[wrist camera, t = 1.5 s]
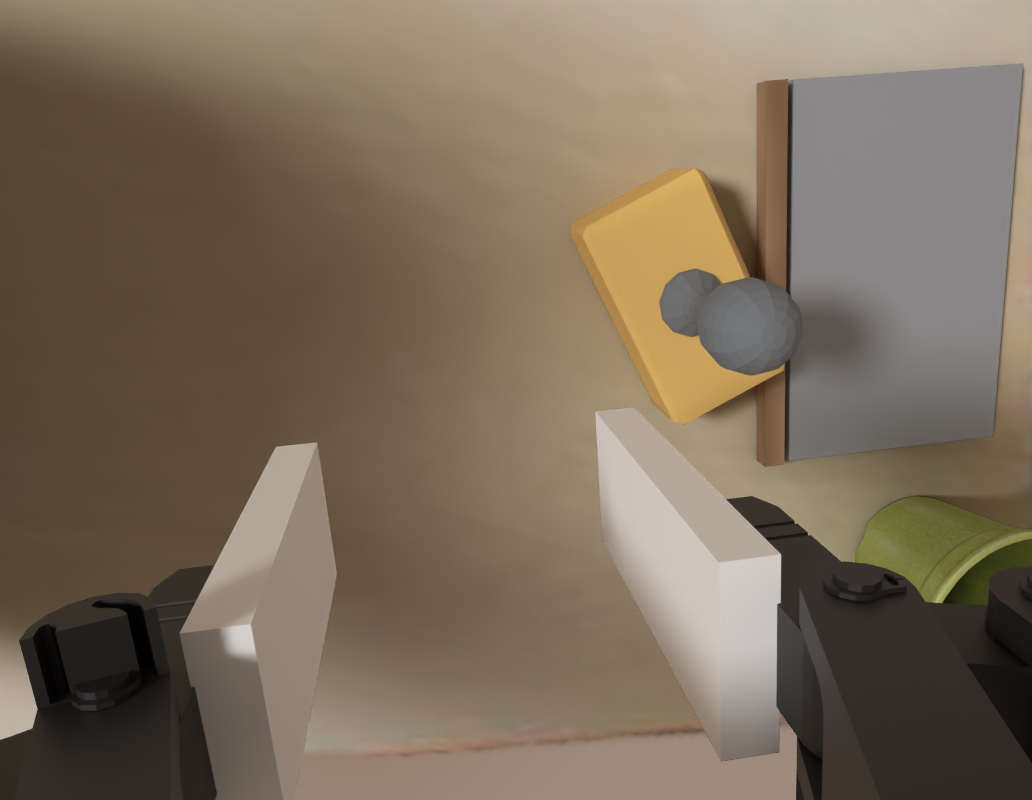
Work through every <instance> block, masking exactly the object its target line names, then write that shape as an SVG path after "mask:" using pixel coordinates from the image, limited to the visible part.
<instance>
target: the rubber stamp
mask: <svg viewBox="0 0 1032 800" xmlns="http://www.w3.org/2000/svg"><path fill="white" fill-rule="evenodd" d="M570 236H571V238H572V240H573V242H574V244H575V246H576V248H577V250H578V252H579V254H580V256H581V258H582V260H583V262H584V264H585V266H586V268H587V270H588V272H589V274H590V276H591V278H592V280H593V282H594V284H595V286H596V288H597V290H598V293H599V295H600V297H601V299H602V301H603V303H604V305H605V307H606V309H607V311H608V313H609V315H610V317H611V319H612V321H613V323H614V325H615V327H616V329H617V331H618V333H619V335H620V337H621V339H622V341H623V343H624V345H625V347H626V349H627V351H628V353H629V355H630V357H631V359H632V361H633V363H634V365H635V367H636V369H637V371H638V373H639V375H640V377H641V380H642V382H643V384H644V386H645V388H646V390H647V392H648V394H649V396H650V398H651V400H652V402H653V404H654V405H655V406H656V407H657V408H658V409H659V410H661V411H662V412H663V413H664V414H665V415H666V416H667V417H668V418H670V419H671V420H672V421H674V422H677V423H680V424H683V425H684V424H686V423H688V422H690V421H691V420H693V419H695V418H697V417H699V416H701V415H703V414H704V413H706V412H708V411H710V410H712V409H714V408H715V407H717V406H719V405H721V404H723V403H725V402H726V401H728V400H730V399H732V398H734V397H736V396H737V395H739V394H741V393H743V392H745V391H747V390H749V389H750V388H752V387H754V386H756V385H758V384H760V383H761V382H763V381H765V380H767V379H769V378H771V377H772V376H774V375H776V374H778V373H780V372H782V371H783V370H784V366H785V362H786V361H788V360H789V359H790V358H791V357H792V356H793V355H794V354H795V353H796V350H797V348H798V345H799V343H800V340H801V337H802V335H803V326H802V318H801V311H800V308H799V307H798V305H797V304H796V303H795V302H794V300H793V299H792V298H791V297H790V295H789V294H788V293H787V292H786V290H785V289H784V288H782V287H781V286H779V285H776V284H773V283H769V282H766V281H763V280H760V279H757V278H753V277H750V275H749V273H748V271H747V268H746V266H745V264H744V262H743V259H742V257H741V255H740V252H739V250H738V248H737V245H736V243H735V241H734V238H733V236H732V234H731V231H730V229H729V227H728V225H727V222H726V220H725V218H724V215H723V213H722V211H721V208H720V206H719V204H718V201H717V199H716V197H715V194H714V192H713V190H712V188H711V185H710V183H709V181H708V178H707V176H706V174H705V173H704V172H703V171H701V170H698V169H696V168H687V169H672V170H669V171H667V172H665V173H663V174H661V175H659V176H658V177H656V178H654V179H652V180H650V181H648V182H647V183H645V184H643V185H641V186H639V187H638V188H636V189H634V190H632V191H630V192H628V193H627V194H625V195H623V196H621V197H619V198H617V199H616V200H614V201H612V202H610V203H608V204H606V205H605V206H603V207H601V208H599V209H597V210H596V211H594V212H592V213H590V214H588V215H586V216H585V217H583V218H581V219H579V220H577V221H575V222H574V223H572V224H571V228H570Z"/></svg>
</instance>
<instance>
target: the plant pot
mask: <svg viewBox="0 0 1032 800" xmlns="http://www.w3.org/2000/svg"><path fill="white" fill-rule="evenodd" d="M856 563H866V564H871V565H875V566H879V567H883V568H887V569H889V570H891V571H893V572H895V573H898V574H900V575H902V576H904V577H905V578H906V579H908V580H909V581H910V582H911V583H912V584H913V585H914V586H915V587H916V588H917V590H918V591H919V593H920V594H921V596H922V597H923V599H924V600H925V602H933V603H951V604H976V605H987V593H988V581H989V578H990V577H991V576H992V575H994V574H995V573H996V572H997V571H1000V570H1004V569H1008V568H1012V567H1026V566H1032V529H1024V528H1013V527H1011V526H1008V525H1005V524H1002V523H999V522H997V521H994V520H991V519H988V518H985V517H983V516H980V515H977V514H974V513H971V512H969V511H966V510H963V509H961V508H958V507H956V506H953V505H950V504H948V503H945V502H943V501H940V500H937V499H932V498H927V497H920V496H915V497H907V498H903V499H900V500H898V501H895V502H893V503H891V504H889V505H888V506H886V507H885V508H883V509H882V510H880V511H879V512H878V513H877V514H876V515H875V516H874V517H873V518H872V519H871V520H870V521H869V523H868V524H867V527H866V531H865V534H864V536H863V539H862V541H861V543H860V545H859V546H858V548H857V549H856Z"/></svg>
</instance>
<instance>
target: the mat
mask: <svg viewBox="0 0 1032 800" xmlns="http://www.w3.org/2000/svg"><path fill="white" fill-rule="evenodd" d="M1022 71H1023V64H1010V65H996V66H982V67H968V68H953V69H939V70H925V71H911V72H897V73H883V74H869V75H855V76H840V77H826V78H812V79H798V80H791V81H788V145H787V244H786V292H787V293H788V294H789V295H790V297H791V298H792V299H793V300H794V302H795V303H796V304H797V305H798V307H799V308H800V311H801V318H802V326H803V335H802V337H801V340H800V343H799V345H798V348H797V350H796V353H795V354H794V355H793V356H792V357H791V358H790V359H789V360H788V361H786V362H785V441H784V457H785V458H786V459H788V460H789V461H792V460H800V459H808V458H817V457H825V456H833V455H842V454H850V453H859V452H867V451H875V450H884V449H892V448H900V447H909V446H917V445H926V444H934V443H942V442H951V441H959V440H968V439H976V438H984V437H993V428H994V416H995V404H996V391H997V379H998V367H999V354H1000V342H1001V330H1002V317H1003V305H1004V293H1005V280H1006V268H1007V256H1008V243H1009V231H1010V219H1011V206H1012V194H1013V182H1014V169H1015V157H1016V145H1017V132H1018V120H1019V108H1020V95H1021V83H1022Z"/></svg>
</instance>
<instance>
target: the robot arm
mask: <svg viewBox="0 0 1032 800" xmlns="http://www.w3.org/2000/svg"><path fill="white" fill-rule="evenodd" d="M595 414H596V433H597V451H598V469H599V488H600V506H601V525H602V541H603V543H604V545H605V547H606V549H607V550H608V552H609V554H610V556H611V558H612V560H613V562H614V563H615V565H616V567H617V569H618V571H619V573H620V575H621V576H622V578H623V580H624V582H625V584H626V586H627V588H628V589H629V591H630V593H631V595H632V597H633V599H634V601H635V602H636V604H637V606H638V608H639V610H640V612H641V614H642V615H643V617H644V619H645V621H646V623H647V625H648V627H649V628H650V630H651V632H652V634H653V636H654V638H655V640H656V641H657V643H658V645H659V647H660V649H661V651H662V653H663V654H664V656H665V658H666V660H667V662H668V664H669V666H670V667H671V669H672V671H673V673H674V675H675V677H676V679H677V680H678V682H679V684H680V686H681V688H682V690H683V692H684V693H685V695H686V697H687V699H688V701H689V703H690V705H691V706H692V708H693V710H694V712H695V714H696V716H697V718H698V719H699V721H700V723H701V725H702V727H703V729H704V731H705V732H706V734H707V736H708V738H709V740H710V742H711V744H712V745H713V747H714V749H715V751H716V753H717V754H718V757H719V758H720V760H721V761H728V760H734V759H740V758H747V757H753V756H759V755H765V754H772V753H779V733H780V732H779V731H780V712H781V714H782V715H783V717H784V718H785V719H786V721H787V722H788V724H789V725H790V727H791V728H792V729H793V731H794V732H795V734H796V735H797V784H796V785H797V786H796V800H1032V566H1026V567H1012V568H1008V569H1004V570H1000V571H997V572H996V573H995V574H994V575H992V576H991V577H990V578H989V581H988V593H987V605H976V604H951V603H933V602H925V600H924V599H923V597H922V596H921V594H920V593H919V591H918V590H917V588H916V587H915V586H914V585H913V584H912V583H911V582H910V581H909V580H908V579H906V578H905V577H904V576H902V575H900V574H898V573H895V572H893V571H891V570H889V569H887V568H883V567H879V566H875V565H871V564H866V563H855V562H841V561H840V560H838V559H837V558H836V557H835V556H834V555H833V554H832V553H830V552H829V551H828V550H827V549H826V548H825V547H824V546H822V545H821V544H820V543H819V542H818V541H817V540H816V539H814V538H813V537H812V536H811V535H810V536H808V533H807V532H806V531H805V530H804V529H803V528H802V527H801V526H800V525H798V524H795V523H794V520H793V519H792V518H790V517H789V516H788V515H787V514H786V513H785V512H784V511H782V510H781V509H780V508H779V507H777V506H775V505H773V504H770V503H768V502H765V501H763V500H760V499H758V498H755V497H753V496H749V497H741V498H733V499H725V498H724V497H723V496H722V495H721V494H720V493H719V492H718V491H717V490H716V489H715V488H714V487H713V486H712V485H711V484H710V483H709V482H708V481H707V480H706V479H705V478H704V477H703V476H702V475H701V474H700V473H699V472H698V471H697V470H696V469H695V468H694V467H693V466H692V465H691V464H690V463H689V462H688V461H687V460H686V459H685V458H684V457H683V456H682V455H681V454H680V453H679V452H678V451H677V450H676V449H675V448H674V447H673V446H672V445H671V444H670V443H669V442H668V441H667V440H666V439H665V438H664V437H663V436H662V435H661V434H660V433H659V432H658V431H657V430H656V429H655V428H654V427H653V426H652V425H651V424H650V423H649V422H648V421H647V420H646V419H645V418H644V417H643V416H642V415H641V414H640V413H639V412H638V411H637V410H636V409H635V408H634V407H632V408H623V409H614V410H605V411H596V412H595ZM336 577H337V571H336V564H335V558H334V551H333V544H332V538H331V531H330V524H329V518H328V511H327V504H326V498H325V491H324V484H323V477H322V471H321V464H320V457H319V451H318V444H317V442H316V443H307V444H297V445H288V446H279V447H276V448H275V450H274V452H273V453H272V455H271V457H270V459H269V461H268V463H267V465H266V467H265V469H264V471H263V473H262V475H261V477H260V479H259V481H258V482H257V484H256V486H255V488H254V490H253V492H252V494H251V496H250V498H249V500H248V502H247V504H246V506H245V508H244V510H243V511H242V513H241V515H240V517H239V519H238V521H237V523H236V525H235V527H234V529H233V531H232V533H231V535H230V537H229V539H228V540H227V542H226V544H225V546H224V548H223V550H222V552H221V554H220V556H219V558H218V560H217V562H216V564H215V565H212V566H204V567H196V568H188V569H180V570H178V571H176V572H175V573H174V574H172V575H171V576H169V577H168V578H167V579H165V580H164V581H163V582H161V583H160V584H159V585H157V586H156V587H155V588H154V589H153V590H152V592H151V594H150V595H149V597H146V596H144V595H141V594H134V593H116V594H109V595H103V596H96V597H92V598H89V599H86V600H82V601H79V602H76V603H73V604H69V605H67V606H65V607H63V608H61V609H59V610H57V611H54V612H52V613H50V614H48V615H46V616H45V617H43V618H42V619H40V620H39V621H38V622H36V623H35V624H33V625H32V626H30V627H29V628H28V629H27V631H26V632H25V633H24V635H23V636H22V637H21V639H20V640H19V642H20V645H21V649H22V653H23V656H24V660H25V664H26V668H27V671H28V675H29V679H30V682H31V686H32V690H33V694H34V697H35V701H36V705H37V708H38V710H37V714H36V718H35V721H34V725H33V728H32V729H30V730H27V731H25V732H22V733H19V734H16V735H14V736H11V737H8V738H5V739H2V740H0V800H294V798H295V792H296V786H297V782H298V776H299V771H300V766H301V761H302V756H303V750H304V745H305V740H306V735H307V729H308V724H309V719H310V714H311V708H312V703H313V698H314V693H315V687H316V682H317V677H318V672H319V666H320V661H321V656H322V651H323V645H324V640H325V635H326V630H327V624H328V619H329V614H330V609H331V603H332V598H333V593H334V588H335V582H336Z"/></svg>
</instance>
